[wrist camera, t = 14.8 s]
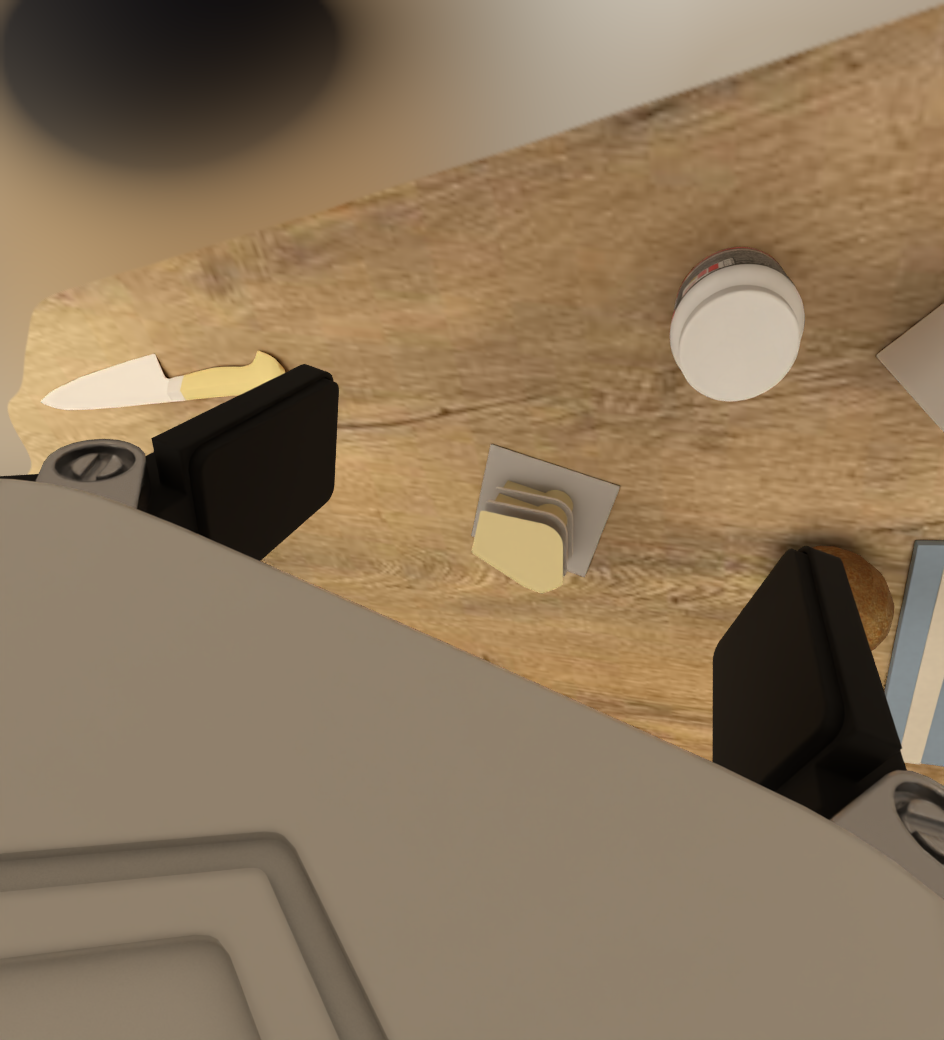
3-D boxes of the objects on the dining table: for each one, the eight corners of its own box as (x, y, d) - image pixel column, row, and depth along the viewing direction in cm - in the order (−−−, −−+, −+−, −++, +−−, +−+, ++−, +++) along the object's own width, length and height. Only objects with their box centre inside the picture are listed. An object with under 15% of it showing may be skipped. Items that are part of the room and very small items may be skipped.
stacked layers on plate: (471, 535, 46) (447, 573, 42) (491, 443, 41) (465, 476, 36) (584, 576, 44) (571, 621, 40) (620, 486, 39) (609, 526, 34)
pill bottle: (655, 295, 32) (638, 337, 24) (750, 220, 28) (766, 240, 20) (711, 372, 33) (712, 435, 25) (808, 308, 29) (845, 358, 22)
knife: (23, 376, 55) (40, 419, 56) (270, 332, 42) (284, 391, 43) (36, 374, 56) (53, 417, 57) (281, 332, 43) (294, 389, 44)
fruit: (748, 549, 38) (756, 626, 32) (843, 508, 34) (874, 585, 28) (797, 611, 39) (814, 697, 33) (894, 577, 35) (935, 666, 29)
